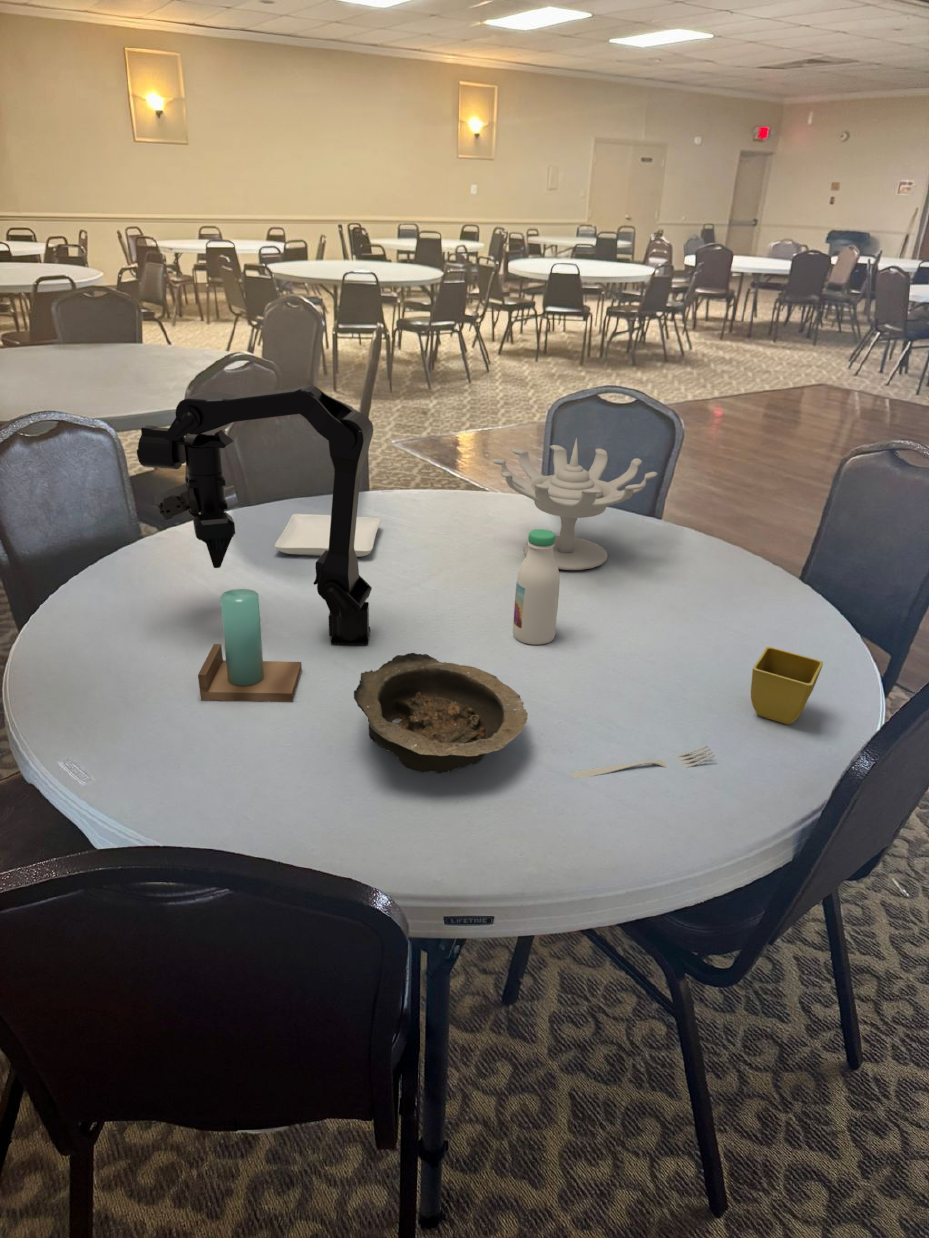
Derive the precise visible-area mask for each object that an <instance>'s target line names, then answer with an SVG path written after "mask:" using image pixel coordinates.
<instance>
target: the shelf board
mask: <svg viewBox="0 0 929 1238" xmlns="http://www.w3.org/2000/svg"><path fill="white" fill-rule="evenodd" d="M222 646H223V645H222V643H213V645H212V646H211V649H210V651H209V652H208V655H207V657H206V658H205V660H204V662H203V664H202V666H201V668H200V670H199V672H198V675H197V677H198V678H197V680H198V688H199V694H200V695H199V696H200V700H201V701H222V700H223V701H225V702H226V701H227V702H229V701H230V702H236V701H237V702H276V703H277V702H279V703H281V702H283V703H284V702H285V703H286V702H287V703H291V702H293V700H294V697H295V693H296V691H297V687H298V684H299V680H300V676H301V674H302V670H303V669H302V667H303V666H302V661H283V660H281V661H280V660H279V661H278V660H277V661H275V660H273V661H272V660H263V669H264V678H263V679H262V680H261V681H260V682H258V683H256V684H253V685H248V686H239V685H234V684H232V683H230V682H229V681H228V677H227V666H226V659H225V660H224V659H223V656H224V655H223V648H222Z"/></svg>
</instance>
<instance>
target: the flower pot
mask: <svg viewBox="0 0 929 1238" xmlns="http://www.w3.org/2000/svg"><path fill="white" fill-rule="evenodd" d="M823 665H824V664H823V661H821V660H819V659H817V658H812V657H810V656H804V655H801V654H798V653H794V652H790V651H786V650H783V649H779V648H775V647H772V646H766V647H765V648H764V650H763V652H762V654H761V655H760V657H759V658H758V660H757V661H756V663H755V664H753V667H752V672H751V673H752V674H751V684H750V700H751V703H752V708H753V710H754V711H755V714H757V716H759V717H762V718H765V719H769V720H771V721H775V722H778V723H782V724H785V725H788V726H789V725H791V724H793V723H794V722H795V721H796V720H797V719H798V718H799V717H800V715H801V714H802V713H803V711H804V708H805V706H806V704H807V703H808V702H807V701H808V700H809V698H810V696H811V694H812V693H813V691H814V688H815V686H816V684H817V680H818V678H819V675H820V673H821V671H822V668H823Z"/></svg>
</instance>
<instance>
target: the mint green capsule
mask: <svg viewBox="0 0 929 1238" xmlns="http://www.w3.org/2000/svg"><path fill="white" fill-rule="evenodd" d="M259 597H260V596H259V593H258V592H257V591H255V590H252V589H249V588H248V589H247V588H235V589H231V590H227V591H225V592H223V593H222V594H221V595H220V607H221V608H220V609H221V619H222V620H221V621H222V628H223V629H222V631H223V632H222V633H223V641H224V643H223V644H224V651H225V652H224V653H225V660H226V666H227V677H228V681H229V682H230V683H232V684H234V685H239V686H248V685H253V684H256V683H258V682H260V681H261V680H262V679H263V678H264V669H263V661H264V659H263V658H264V657H263V655H264V653H263V643H262V641H263V640H262V629H261V627H262V626H261V614H260V613H261V611H260V610H261V609H260V598H259Z"/></svg>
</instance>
